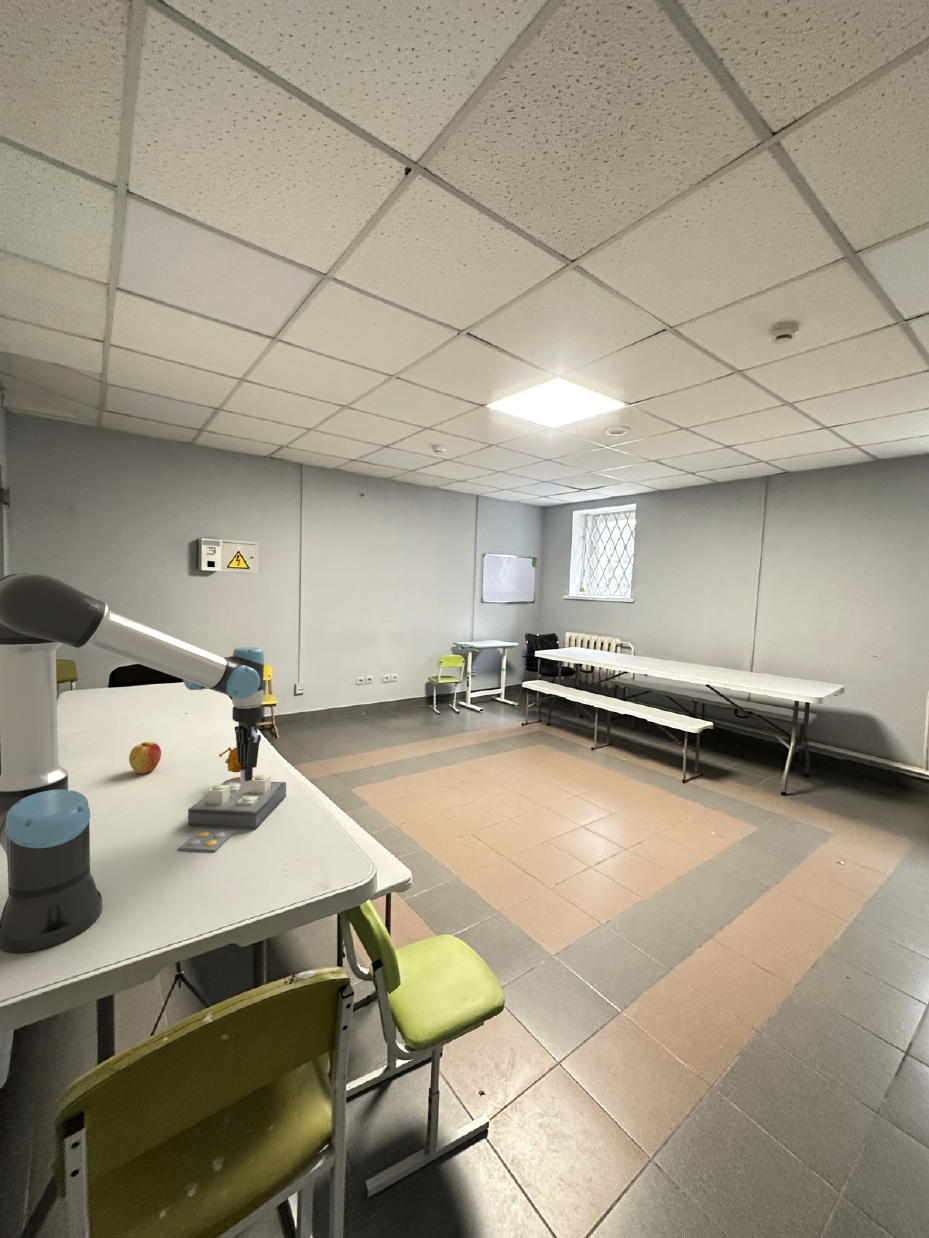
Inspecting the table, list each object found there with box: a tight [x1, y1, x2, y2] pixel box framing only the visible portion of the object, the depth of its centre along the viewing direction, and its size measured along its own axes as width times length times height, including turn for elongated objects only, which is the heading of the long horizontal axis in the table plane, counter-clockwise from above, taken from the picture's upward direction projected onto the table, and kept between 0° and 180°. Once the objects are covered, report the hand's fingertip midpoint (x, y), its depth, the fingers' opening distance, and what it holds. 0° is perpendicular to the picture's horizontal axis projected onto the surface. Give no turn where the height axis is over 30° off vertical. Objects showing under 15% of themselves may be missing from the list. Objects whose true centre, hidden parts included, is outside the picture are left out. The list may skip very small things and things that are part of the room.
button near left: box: [207, 784, 230, 805], centre depth 136 cm, size 4×4×4 cm
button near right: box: [237, 796, 258, 806], centre depth 136 cm, size 4×4×4 cm
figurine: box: [218, 747, 255, 780], centre depth 158 cm, size 8×11×12 cm
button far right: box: [251, 774, 272, 794], centre depth 143 cm, size 4×4×4 cm
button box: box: [187, 779, 287, 830], centre depth 140 cm, size 20×18×4 cm
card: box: [177, 828, 235, 853], centre depth 123 cm, size 9×9×1 cm
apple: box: [128, 741, 162, 775], centre depth 165 cm, size 9×9×10 cm
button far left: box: [229, 783, 240, 792], centre depth 144 cm, size 4×4×4 cm
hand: (246, 790), depth 135 cm, fingers closed
